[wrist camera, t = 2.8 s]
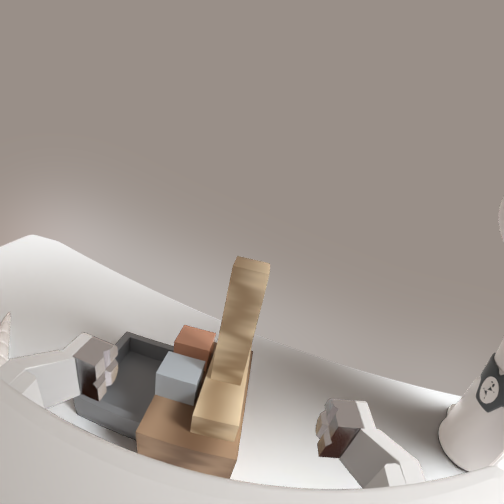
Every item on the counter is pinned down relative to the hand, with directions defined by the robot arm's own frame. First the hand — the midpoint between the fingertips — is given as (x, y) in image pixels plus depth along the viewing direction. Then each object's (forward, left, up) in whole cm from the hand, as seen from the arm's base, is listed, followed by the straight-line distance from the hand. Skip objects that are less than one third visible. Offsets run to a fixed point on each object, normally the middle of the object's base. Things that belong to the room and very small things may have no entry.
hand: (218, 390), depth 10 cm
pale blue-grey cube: (+4, -14, -14) cm, 21 cm away
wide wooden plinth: (+2, -16, -20) cm, 26 cm away
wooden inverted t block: (0, -16, -14) cm, 22 cm away
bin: (+11, -17, -20) cm, 29 cm away
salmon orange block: (+4, -20, -14) cm, 25 cm away
